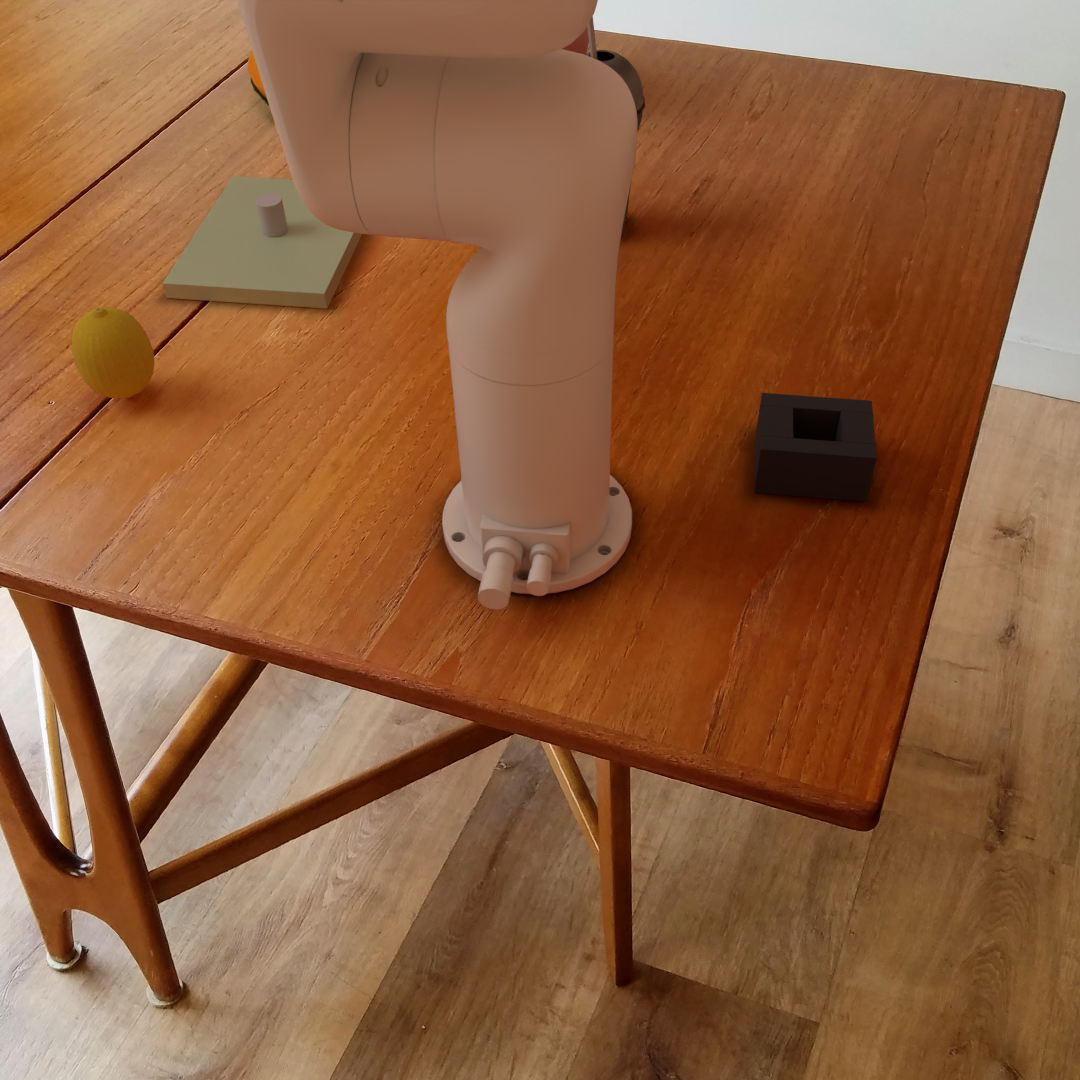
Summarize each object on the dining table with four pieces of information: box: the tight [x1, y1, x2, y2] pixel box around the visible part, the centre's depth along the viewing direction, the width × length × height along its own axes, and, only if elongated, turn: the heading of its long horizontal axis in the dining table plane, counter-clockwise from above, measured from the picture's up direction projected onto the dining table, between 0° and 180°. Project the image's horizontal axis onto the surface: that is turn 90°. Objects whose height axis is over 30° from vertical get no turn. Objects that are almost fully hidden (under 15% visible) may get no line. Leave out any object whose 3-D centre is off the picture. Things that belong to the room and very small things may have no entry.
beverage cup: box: [585, 15, 646, 235], centre depth 96 cm, size 7×7×20 cm
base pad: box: [161, 175, 363, 310], centre depth 101 cm, size 18×14×4 cm
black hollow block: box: [753, 392, 878, 503], centre depth 79 cm, size 6×8×4 cm
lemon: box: [71, 306, 155, 400], centre depth 85 cm, size 6×6×8 cm
